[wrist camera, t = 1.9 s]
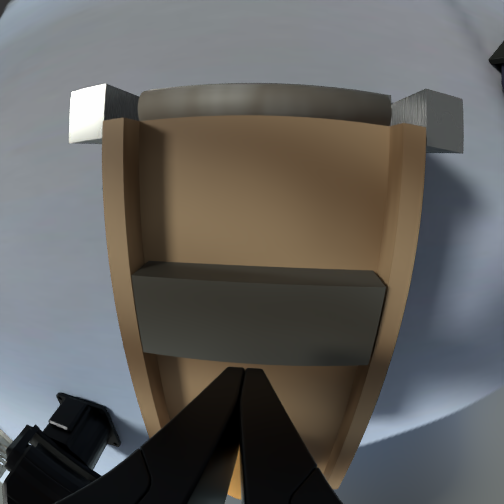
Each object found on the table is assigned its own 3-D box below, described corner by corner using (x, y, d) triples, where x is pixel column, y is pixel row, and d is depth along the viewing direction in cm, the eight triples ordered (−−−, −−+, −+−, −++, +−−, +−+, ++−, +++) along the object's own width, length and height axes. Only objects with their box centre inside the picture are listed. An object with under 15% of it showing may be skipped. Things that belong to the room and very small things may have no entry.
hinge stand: (383, 178, 17) (460, 195, 9) (153, 170, 18) (69, 183, 10) (385, 98, 15) (458, 61, 7) (155, 93, 16) (75, 57, 8)
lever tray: (334, 458, 15) (338, 492, 12) (174, 448, 16) (163, 480, 13) (397, 102, 9) (429, 89, 7) (135, 97, 10) (99, 84, 7)
